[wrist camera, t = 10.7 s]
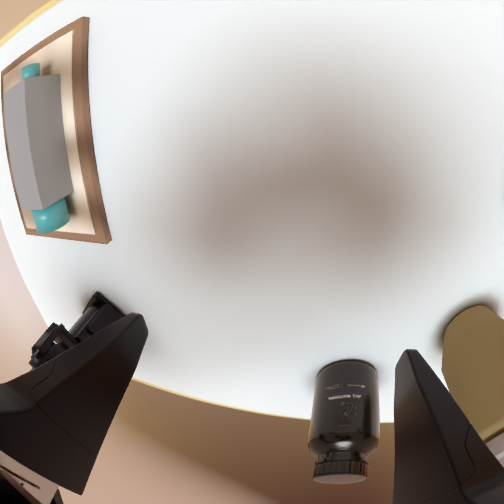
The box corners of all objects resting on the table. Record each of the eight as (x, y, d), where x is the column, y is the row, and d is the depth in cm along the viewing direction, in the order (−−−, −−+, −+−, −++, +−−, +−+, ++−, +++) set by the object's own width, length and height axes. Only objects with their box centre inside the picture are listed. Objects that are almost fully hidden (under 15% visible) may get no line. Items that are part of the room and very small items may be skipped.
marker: (80, 215, 22) (50, 236, 19) (55, 215, 23) (28, 233, 19) (60, 57, 14) (24, 60, 11) (35, 71, 15) (3, 76, 12)
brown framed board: (111, 239, 24) (104, 245, 23) (30, 231, 26) (24, 235, 26) (89, 17, 13) (80, 16, 12) (6, 70, 16) (-1, 71, 15)
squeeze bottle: (508, 289, 17) (575, 451, 2) (484, 347, 21) (518, 489, 6) (444, 298, 19) (495, 501, 4) (424, 357, 23) (442, 520, 8)
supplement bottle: (351, 349, 24) (350, 467, 14) (388, 375, 26) (393, 476, 15) (302, 376, 28) (285, 478, 18) (341, 398, 29) (334, 488, 19)
